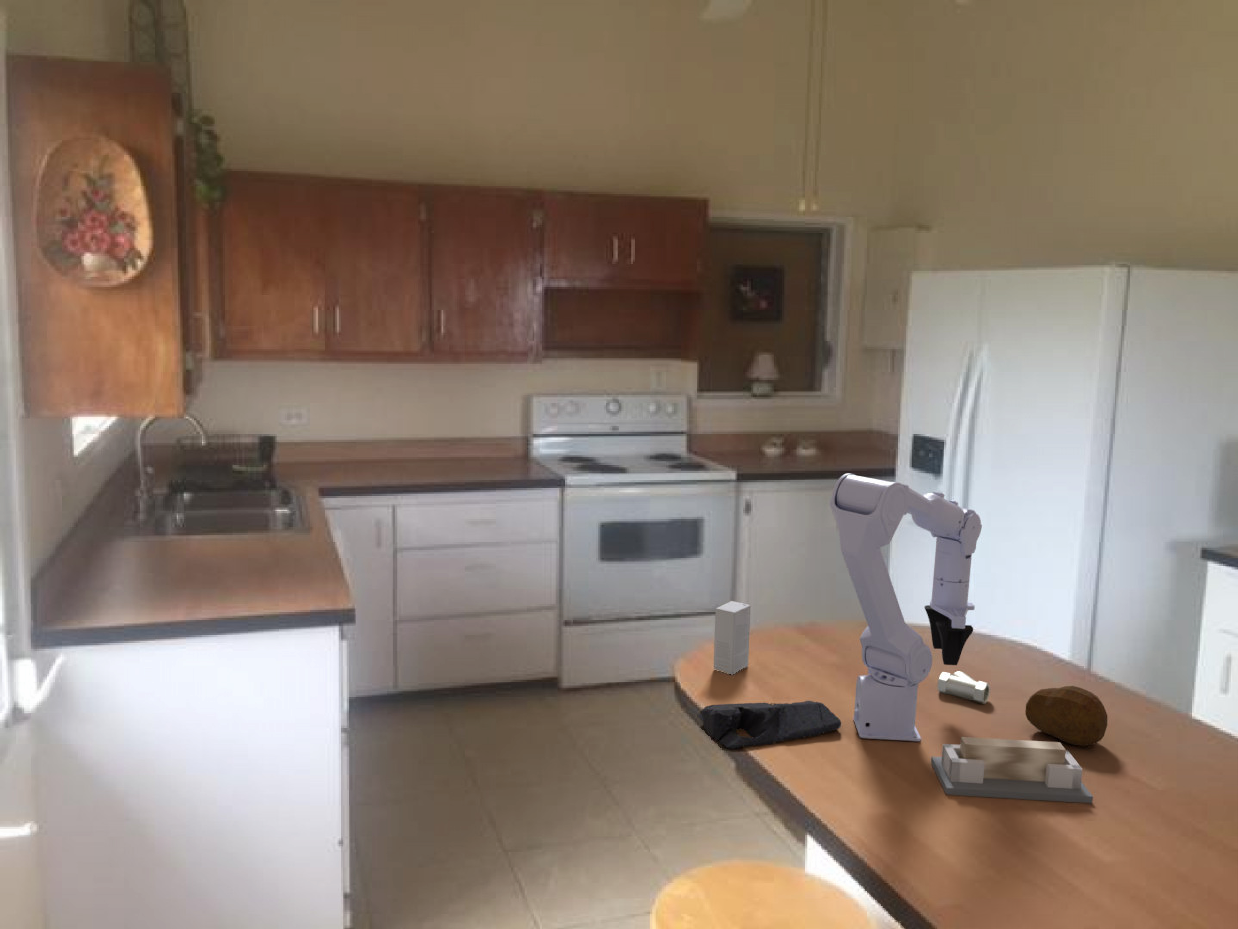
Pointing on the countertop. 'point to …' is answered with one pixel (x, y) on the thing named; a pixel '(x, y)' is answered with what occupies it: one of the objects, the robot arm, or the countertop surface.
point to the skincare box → (731, 637)
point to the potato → (1068, 714)
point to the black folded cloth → (766, 722)
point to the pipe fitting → (963, 686)
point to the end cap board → (970, 782)
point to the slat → (1013, 757)
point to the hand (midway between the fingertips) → (944, 656)
